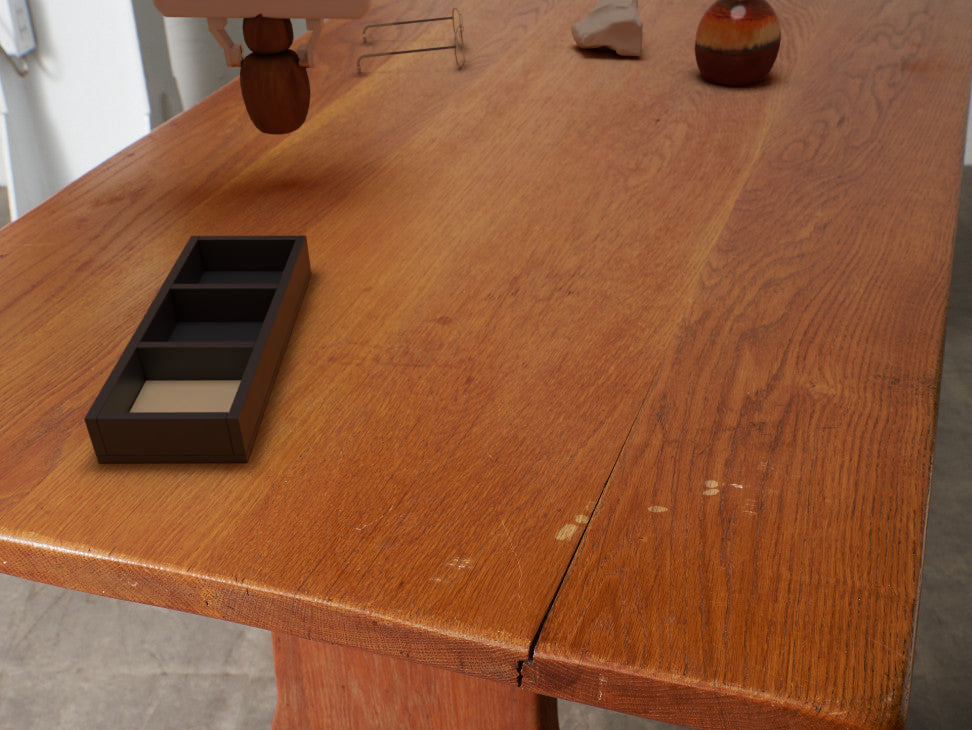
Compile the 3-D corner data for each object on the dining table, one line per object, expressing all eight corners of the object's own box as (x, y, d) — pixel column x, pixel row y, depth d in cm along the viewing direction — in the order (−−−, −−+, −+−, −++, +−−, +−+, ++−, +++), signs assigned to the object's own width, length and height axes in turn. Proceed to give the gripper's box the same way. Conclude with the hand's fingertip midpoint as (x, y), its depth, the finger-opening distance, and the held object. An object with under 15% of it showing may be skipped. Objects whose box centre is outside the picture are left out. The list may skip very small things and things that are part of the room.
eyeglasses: (466, 71, 139) (465, 32, 135) (357, 73, 138) (353, 34, 135) (463, 40, 151) (462, 3, 148) (362, 42, 150) (359, 5, 147)
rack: (97, 463, 68) (83, 418, 66) (199, 273, 90) (190, 235, 88) (247, 462, 68) (238, 418, 66) (311, 273, 90) (306, 235, 88)
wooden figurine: (280, 115, 106) (260, -45, 97) (324, 125, 104) (307, -38, 95) (236, 133, 102) (210, -33, 92) (280, 144, 99) (258, -25, 90)
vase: (756, 95, 130) (776, -39, 120) (677, 82, 135) (690, -49, 125) (786, 73, 137) (806, -55, 128) (710, 62, 142) (724, -63, 132)
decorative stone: (561, 32, 148) (602, -31, 144) (607, 70, 152) (649, 10, 149) (578, 45, 139) (623, -22, 136) (627, 84, 143) (672, 21, 140)
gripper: (124, -93, 88) (157, 74, 96) (359, -90, 88) (371, 76, 97) (144, -104, 93) (174, 56, 101) (367, -101, 93) (378, 58, 102)
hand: (272, 66), depth 99 cm, fingers closed on wooden figurine, 6 cm apart
